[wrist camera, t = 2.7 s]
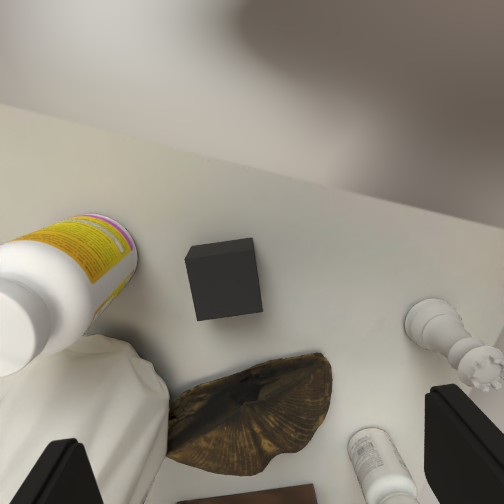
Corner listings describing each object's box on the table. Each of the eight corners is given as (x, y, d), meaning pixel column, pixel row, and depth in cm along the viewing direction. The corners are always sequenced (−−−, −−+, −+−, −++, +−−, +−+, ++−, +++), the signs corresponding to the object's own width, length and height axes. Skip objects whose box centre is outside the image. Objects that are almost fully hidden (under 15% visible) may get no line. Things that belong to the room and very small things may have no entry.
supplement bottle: (54, 207, 26) (-111, 253, 14) (141, 217, 27) (55, 270, 14) (57, 287, 28) (-87, 391, 16) (138, 295, 29) (60, 402, 16)
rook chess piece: (461, 304, 30) (538, 356, 22) (437, 347, 31) (502, 411, 23) (416, 289, 29) (479, 337, 21) (393, 333, 30) (445, 394, 23)
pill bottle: (342, 459, 34) (370, 545, 27) (352, 424, 33) (385, 502, 25) (384, 464, 34) (424, 549, 27) (396, 428, 33) (441, 508, 26)
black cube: (252, 237, 27) (253, 248, 24) (260, 294, 29) (263, 312, 25) (191, 246, 28) (184, 258, 24) (202, 302, 29) (197, 321, 26)
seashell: (317, 327, 29) (347, 394, 23) (338, 391, 34) (369, 462, 28) (142, 389, 30) (127, 470, 24) (185, 444, 34) (181, 525, 28)
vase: (172, 460, 33) (118, 700, 18) (22, 445, 32) (-161, 687, 17) (188, 331, 29) (136, 504, 15) (18, 310, 28) (-218, 474, 14)
